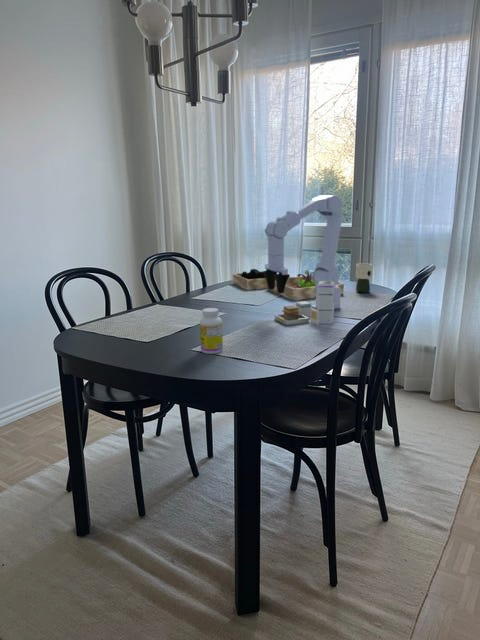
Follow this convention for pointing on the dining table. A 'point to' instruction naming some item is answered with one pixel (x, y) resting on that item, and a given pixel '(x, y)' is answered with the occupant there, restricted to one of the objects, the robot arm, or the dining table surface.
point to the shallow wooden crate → (249, 282)
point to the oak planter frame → (300, 289)
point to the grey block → (304, 308)
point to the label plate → (314, 316)
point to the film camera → (253, 274)
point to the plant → (304, 283)
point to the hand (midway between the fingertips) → (275, 291)
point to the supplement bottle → (211, 331)
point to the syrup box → (326, 302)
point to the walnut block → (291, 312)
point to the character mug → (363, 276)
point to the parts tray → (301, 320)
